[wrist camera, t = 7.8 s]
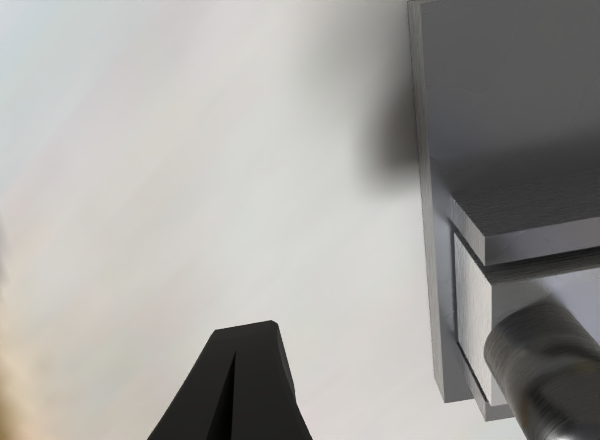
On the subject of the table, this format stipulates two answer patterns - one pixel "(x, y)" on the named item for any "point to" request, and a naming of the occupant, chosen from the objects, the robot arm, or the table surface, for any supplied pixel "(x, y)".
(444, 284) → the press bed
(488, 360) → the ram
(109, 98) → the table surface
